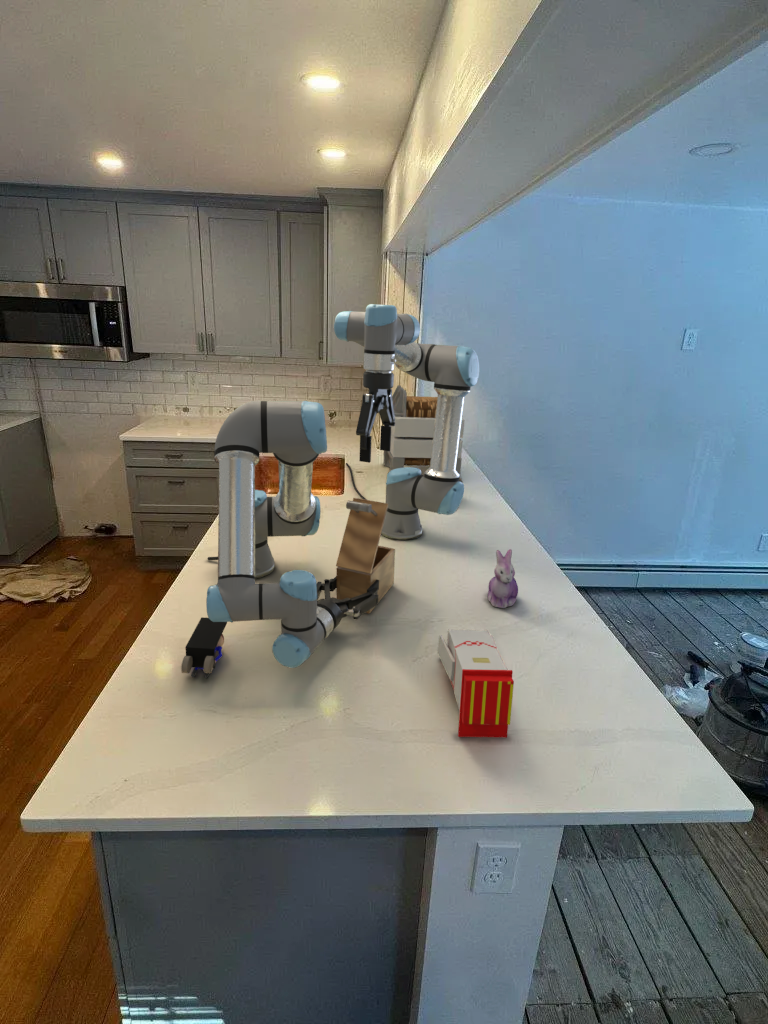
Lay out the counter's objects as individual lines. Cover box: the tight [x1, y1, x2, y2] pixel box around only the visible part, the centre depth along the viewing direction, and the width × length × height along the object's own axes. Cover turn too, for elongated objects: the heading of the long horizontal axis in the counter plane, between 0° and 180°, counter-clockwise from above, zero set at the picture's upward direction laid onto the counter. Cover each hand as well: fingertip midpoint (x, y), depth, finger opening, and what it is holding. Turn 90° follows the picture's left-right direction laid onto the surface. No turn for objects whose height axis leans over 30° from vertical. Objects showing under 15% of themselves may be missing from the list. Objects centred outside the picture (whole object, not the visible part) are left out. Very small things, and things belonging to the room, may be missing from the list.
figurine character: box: [180, 616, 228, 679], centre depth 123 cm, size 7×8×15 cm
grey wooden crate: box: [383, 384, 465, 478], centre depth 268 cm, size 34×33×41 cm
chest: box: [335, 545, 396, 614], centre depth 154 cm, size 18×10×11 cm, turn 158°
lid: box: [335, 497, 388, 574], centre depth 143 cm, size 18×10×8 cm
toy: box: [437, 628, 515, 738], centre depth 117 cm, size 12×13×30 cm
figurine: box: [487, 548, 519, 609], centre depth 154 cm, size 9×10×15 cm
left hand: (359, 580), depth 150 cm, fingers closed on chest, 10 cm apart
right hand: (375, 455), depth 146 cm, fingers open, 13 cm apart
